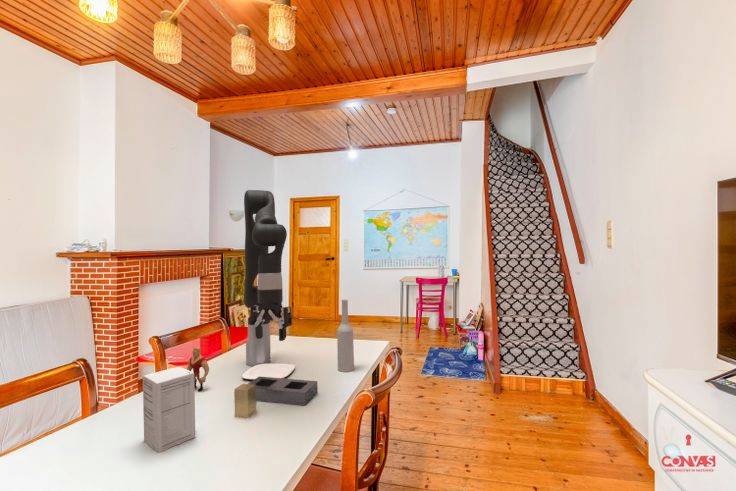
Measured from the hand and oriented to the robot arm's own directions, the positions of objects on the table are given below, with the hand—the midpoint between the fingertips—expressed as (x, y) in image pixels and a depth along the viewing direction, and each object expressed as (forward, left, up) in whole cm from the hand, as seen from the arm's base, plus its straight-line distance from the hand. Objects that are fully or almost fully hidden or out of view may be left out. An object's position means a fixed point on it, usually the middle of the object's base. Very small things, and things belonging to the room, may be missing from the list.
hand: (270, 339), depth 112 cm
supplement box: (-16, -24, -21) cm, 35 cm away
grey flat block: (-1, +7, -20) cm, 22 cm away
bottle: (+12, +37, -21) cm, 44 cm away
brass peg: (-5, -7, -21) cm, 22 cm away
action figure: (-33, +6, -21) cm, 39 cm away
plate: (-16, +26, -21) cm, 37 cm away
